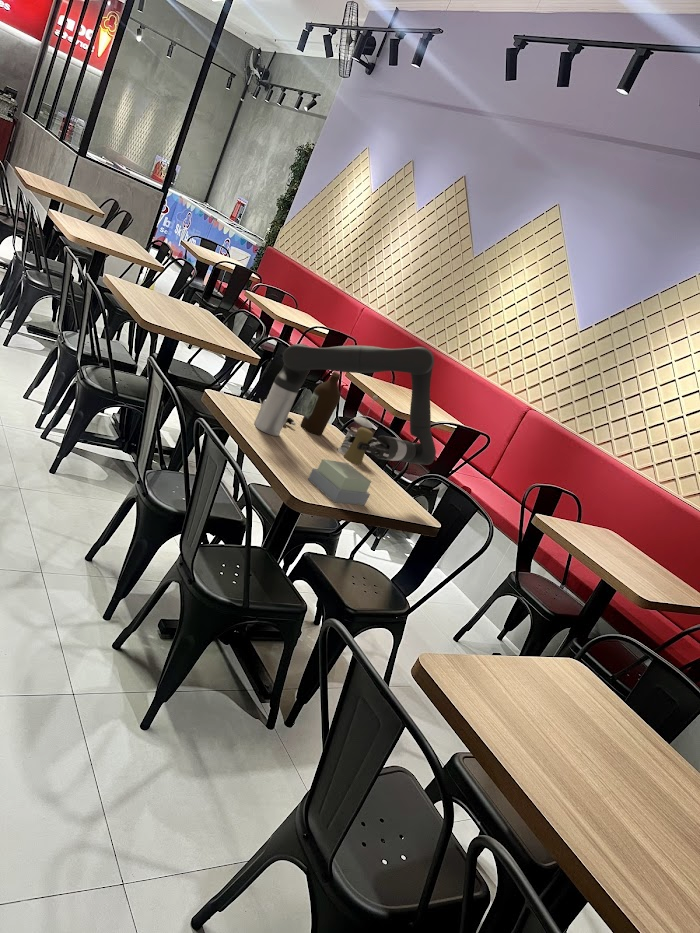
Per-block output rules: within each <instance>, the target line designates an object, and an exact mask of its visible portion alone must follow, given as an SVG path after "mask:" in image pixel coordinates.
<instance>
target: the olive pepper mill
mask: <svg viewBox="0 0 700 933" xmlns="http://www.w3.org/2000/svg"><path fill="white" fill-rule="evenodd" d="M357 429H358V430H357V432H356V435H357V436H356V438H355V439H354V441H353V442H352V443H351V445H350V447H349V449H348V450H347V452H346V453H345V455H343V458H344V460H346V461H347V462H349V463H351V464H354V465H357V466H361V465H362V462H363V460H364V457H365V454H366V451H365V450H359V449H357V446H358V444H359V443H360V442H362V443H368V441H370V440H371V439H372V437H373V438H374V433H373V431H372V430H370V428H367V427H365V426H362V427H361V426H360V427H358V428H357Z"/></svg>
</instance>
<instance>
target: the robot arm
mask: <svg viewBox="0 0 700 933" xmlns="http://www.w3.org/2000/svg"><path fill="white" fill-rule="evenodd" d="M282 362H283V366H282V368H281V370H279V373H277V375H276V376H275V379H274V381H273V383H272V385H271V388H270V390H269V393H268V394H267V397H266V399H264V400H263V401H262V402H263V404H262V406H261V405H260V409H259V411H258V412H257V416H256V418H255V420H254V423H253V424H254V425H255V428H257V430H259V431H261V432H263V433H265V434H267V435H270V436H273V437H278V436H280V434H281V432H282V430H283V426H284V425H285V424H286V423H285V421H286V418H287V416H288V417H289V414H290V411H291V409H292V407H293V405H294V403H295V401H296V398H297V395H298V393H299V391H300V389H301V388H302V386H303V385H304V384H305V382H306V380H307V377H308V375H309V372H310V371H313V370H323V371H324V370H326V371H332V372H338V373H339V372H340V373H341V372H342V373H353V374H354V373H355V374H370V373H371V374H372V373H383V372H398V373H405V374H410V377H411V378H410V379H411V397H410V398H411V399H410V409H409V433H410V435H411V436H413V437H415V438H417V439H418V441H419V442H418V443H416V442H411V441H409V440H404V439H399V438H397V437H393V436H387V435H378V436H376V437H374V436H373V437H372V439H371V440H370V441H368V443H362V442H360V443H359V444H358V446H357V449H359V450H365V452H367V453H370V455H372V456H374V457H376V459H379V460H386V461H394V462H395V461H399V462H405V463H409V464H418V465H425V466H430V465H431V464H433V462H434V461H435V460H436V459H435V458H436V456H437V450H436V446H435V442H434V438H433V435H432V431H431V430H432V429H431V425H432V424H431V421H432V420H431V418H432V417H431V381H432V373H433V368H434V365H435V357H434V354H433V353H432V351H431V350H430V349H428V348H426V347H423V346H415V347H407V348H385V347H380V346H374V345H358V344H357V345H355V344H354V345H352V344H351V345H348V344H347V345H338V346H329V347H316V346H315V347H314V346H309V345H307V344H304V343H297V344H296V343H294V344H291V345H289V346H288V347H287V348H286V349H285V350H284V351H283V354H282ZM286 422H287V421H286ZM284 423H285V424H284ZM356 436H357V435H356V434H355V436H352V435H351V436H350V437H349V439H348V442H350V443H351V444H352V442H353V441H354V439H355V438H356Z"/></svg>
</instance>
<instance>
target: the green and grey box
mask: <svg viewBox="0 0 700 933" xmlns="http://www.w3.org/2000/svg"><path fill="white" fill-rule="evenodd" d="M307 480H308V481H310V482H311V483H312V484H313V485H314V486H315V487H316V488H317V489H318V490H319V491H321V492H322V493H323V494H324V495H325V496H326V497H327V498H329V499H330V501H332V502H334V503H337V504H349V505H350V504H351V505H360V506H365V505H366V504H367V502H368V499H369V497H370V495H371V494H370V493H369V492H368V490H369V487H370V486H371V483H372V480H370V479H369V478H368V477H366V476H365V475H364V474H363V473H361V472H360V471H359V470H358V469H357V468H355V467H354V466H353V465H352V464H350V462H349V463H348V462H342V461H337V460H330V459H325V458H324V459H323V458H322V459H321V461H320V463H319V466H318V468H312V470H311V471H310V474H309V475H308V478H307Z"/></svg>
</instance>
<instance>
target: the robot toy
mask: <svg viewBox="0 0 700 933" xmlns="http://www.w3.org/2000/svg"><path fill="white" fill-rule="evenodd" d="M258 400H259V402H260V407H261V406H262V404H263V401H262V400H261V398H259V399H258ZM286 423H287V424H289V425H292V426H296V422H295V421H294V420H293V418H291V417H289V415H288V416H287V418H286V421H285V423H284V425H286Z"/></svg>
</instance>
